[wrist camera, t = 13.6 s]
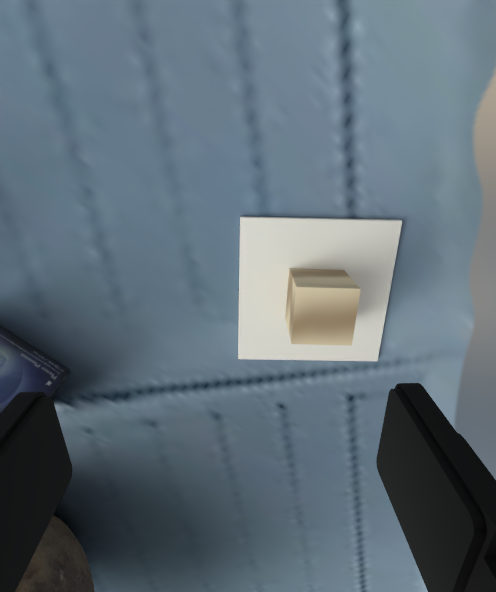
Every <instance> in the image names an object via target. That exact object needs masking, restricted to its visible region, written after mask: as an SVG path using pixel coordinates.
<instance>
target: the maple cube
mask: <svg viewBox="0 0 496 592" xmlns="http://www.w3.org/2000/svg"><path fill="white" fill-rule="evenodd" d="M360 290H361V289H360V287H359V286H358V285H357V284H356V283H355V282H354V281H353V279H352V278H351V277H350V276H349V275H348V274H347V273H346V271H345V270H330V269H297V268H289V277H288V290H287V303H286V315H285V319H286V324H287V328H288V332H289V336H290V340H291V344H310V345H348V346H352V341H353V335H354V328H355V322H356V316H357V309H358V303H359V297H360Z"/></svg>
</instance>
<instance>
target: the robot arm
mask: <svg viewBox="0 0 496 592" xmlns="http://www.w3.org/2000/svg"><path fill="white" fill-rule="evenodd" d="M377 468H378V472H379V475H380V477H381V479H382V482H383V484H384V487H385V489H386V491H387V494H388V496H389V499H390V501H391V503H392V506H393V508H394V511H395V513H396V515H397V518H398V520H399V523H400V525H401V527H402V530H403V532H404V535H405V537H406V540H407V542H408V544H409V547H410V549H411V552H412V554H413V556H414V559H415V561H416V564H417V566H418V568H419V571H420V573H421V576H422V578H423V580H424V583H425V585H426V588H427V590H428V592H496V480H495V479H494V478H493V476H492V475H491V473H490V472H489V471H488V469H487V468H486V467H485V465H484V464H483V463H482V461H481V460H480V459H479V458H478V456H477V455H476V454H475V452H474V451H473V449H472V448H471V447H470V446H469V444H468V443H467V441H466V440H465V439H464V438H463V437H462V436H461V435H460V434H458V433H457V432H456V431H455V430H454V428H453V427H452V425H451V424H450V423H449V421H448V420H447V419H446V417H445V416H444V415H443V413H442V412H441V410H440V409H439V408H438V406H437V405H436V404H435V402H434V401H433V400H432V398H431V397H430V396H429V394H428V393H427V391H426V390H425V389H424V387H423V386H422V385H421V384H419V383H401V384H397V385H396V387H395V389H391V390H390V392H389V396H388V401H387V406H386V412H385V417H384V423H383V428H382V433H381V439H380V444H379V449H378V455H377ZM71 476H72V464H71V461H70V458H69V454H68V451H67V447H66V444H65V440H64V437H63V434H62V430H61V427H60V423H59V420H58V417H57V413H56V410H55V406H54V403H53V400H52V398H51V397H47V395H46V394H45V393H44V392H20V393H18V394H17V395H16V396H15V397H14V398H13V399H12V400H11V402H10V403H9V404H8V405H7V406H6V407H5V408H4V410H3V411H2V412H1V413H0V592H15V591H16V589H17V587H18V585H19V583H20V581H21V579H22V577H23V575H24V573H25V571H26V569H27V567H28V565H29V563H30V561H31V559H32V557H33V555H34V553H35V551H36V549H37V547H38V545H39V543H40V541H41V539H42V537H43V535H44V533H45V530H46V528H47V526H48V524H49V522H50V520H51V518H52V516H53V514H54V512H55V510H56V508H57V506H58V504H59V502H60V500H61V498H62V496H63V494H64V492H65V490H66V488H67V486H68V484H69V482H70V479H71Z"/></svg>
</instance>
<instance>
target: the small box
mask: <svg viewBox="0 0 496 592" xmlns="http://www.w3.org/2000/svg"><path fill="white" fill-rule="evenodd" d="M69 372H70V371H69V370H68V369H66V368H65V367H63V366H61V365H60V364H58V363H57V362H55V361H54V360H52V359H51V358H49V357H47V356H46V355H44V354H43V353H41V352H40V351H38V350H36V349H35V348H33V347H32V346H30V345H29V344H27V343H25V342H24V341H22V340H21V339H19V338H18V337H16V336H15V335H13V334H11V333H10V332H8V331H7V330H5V329H4V328H2V327H1V326H0V413H1V412H2V411H3V410H4V408H5V407H6V406H7V405H8V404H9V403H10V402H11V400H12V399H13V398H14V397H15V396H16V395H17V394H18V393H20V392H44V393H45V394H46V395H47V397H51V396H52V394H53V393H54V392H55V391H56V389H58V387H59V386H60V385H61V384H62V383H63V382H64V380H65V378H66V377H67V375H68V374H69Z"/></svg>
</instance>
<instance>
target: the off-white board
mask: <svg viewBox="0 0 496 592" xmlns="http://www.w3.org/2000/svg"><path fill="white" fill-rule="evenodd" d="M401 226H402V221H401V220H384V219H338V218H291V217H245V216H240V267H239V338H238V359H266V360H328V361H378V355H379V350H380V344H381V338H382V333H383V327H384V321H385V316H386V310H387V305H388V299H389V293H390V288H391V282H392V276H393V271H394V265H395V260H396V254H397V248H398V243H399V237H400V231H401ZM289 268H297V269H330V270H345V271H346V273H347V274H348V275H349V276H350V277H351V278H352V279H353V281H354V282H355V283H356V284H357V285H358V286H359V287H360V289H361V290H360V297H359V303H358V309H357V316H356V322H355V328H354V335H353V341H352V346H348V345H310V344H291V340H290V336H289V332H288V328H287V324H286V319H285V315H286V303H287V290H288V277H289Z"/></svg>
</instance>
